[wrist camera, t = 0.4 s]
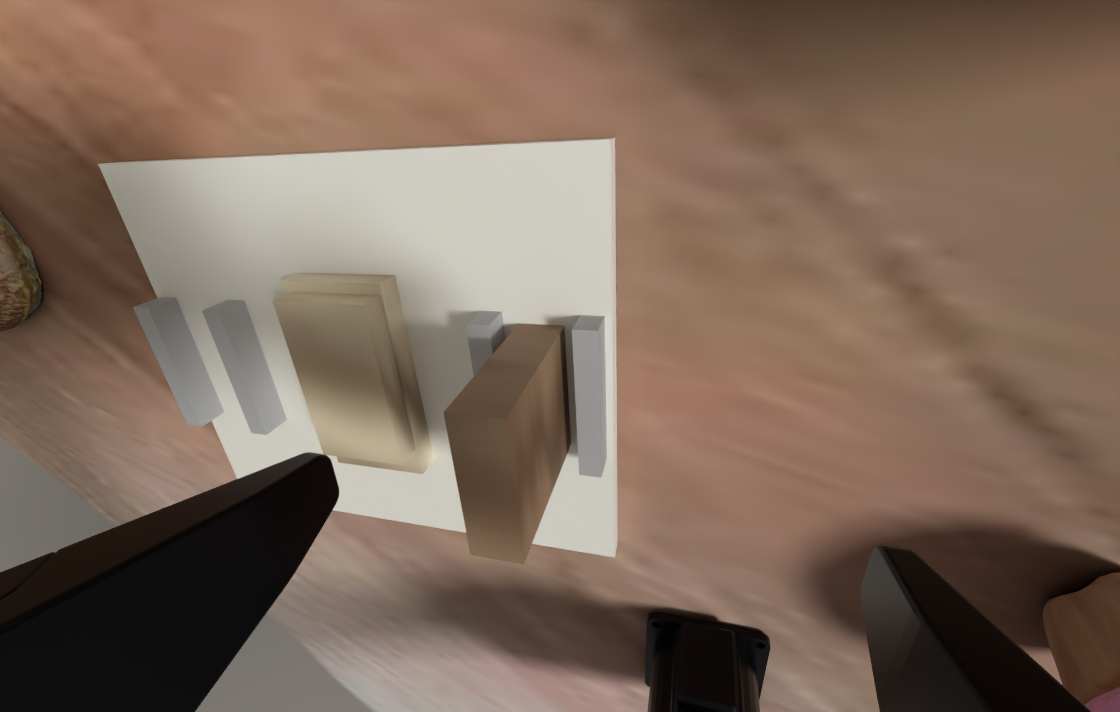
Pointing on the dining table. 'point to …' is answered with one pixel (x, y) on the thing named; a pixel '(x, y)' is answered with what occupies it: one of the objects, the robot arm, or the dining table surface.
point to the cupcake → (1088, 642)
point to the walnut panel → (511, 440)
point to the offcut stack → (356, 368)
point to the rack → (424, 287)
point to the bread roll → (16, 278)
